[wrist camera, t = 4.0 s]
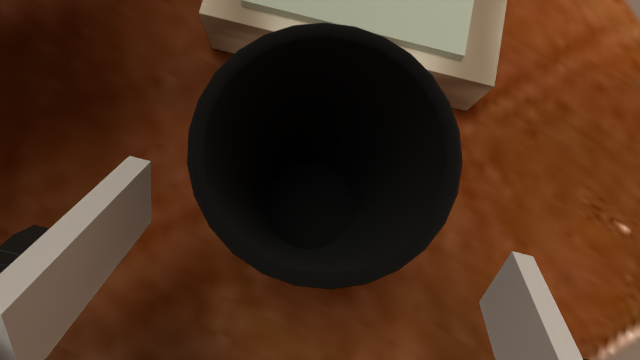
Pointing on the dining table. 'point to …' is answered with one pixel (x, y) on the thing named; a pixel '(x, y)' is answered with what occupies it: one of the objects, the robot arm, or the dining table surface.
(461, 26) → the stand
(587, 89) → the dining table surface
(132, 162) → the robot arm
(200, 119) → the cup
